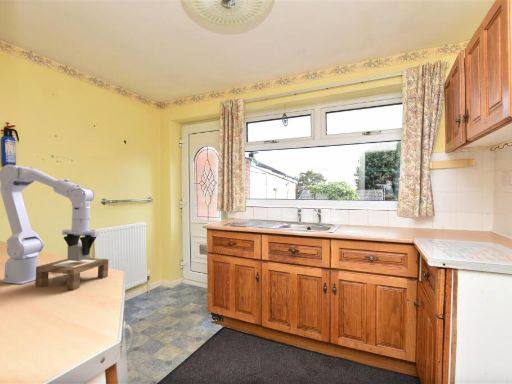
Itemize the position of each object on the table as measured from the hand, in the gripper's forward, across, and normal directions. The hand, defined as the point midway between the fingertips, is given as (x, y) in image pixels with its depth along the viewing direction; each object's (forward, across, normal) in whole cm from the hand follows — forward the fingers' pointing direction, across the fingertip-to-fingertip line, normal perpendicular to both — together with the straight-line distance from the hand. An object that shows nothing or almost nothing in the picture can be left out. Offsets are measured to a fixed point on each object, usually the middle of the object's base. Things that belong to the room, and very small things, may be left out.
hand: (79, 254), depth 97 cm
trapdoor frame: (+10, -2, 0) cm, 11 cm away
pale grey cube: (+2, 0, 0) cm, 2 cm away
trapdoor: (+4, -2, 0) cm, 5 cm away
